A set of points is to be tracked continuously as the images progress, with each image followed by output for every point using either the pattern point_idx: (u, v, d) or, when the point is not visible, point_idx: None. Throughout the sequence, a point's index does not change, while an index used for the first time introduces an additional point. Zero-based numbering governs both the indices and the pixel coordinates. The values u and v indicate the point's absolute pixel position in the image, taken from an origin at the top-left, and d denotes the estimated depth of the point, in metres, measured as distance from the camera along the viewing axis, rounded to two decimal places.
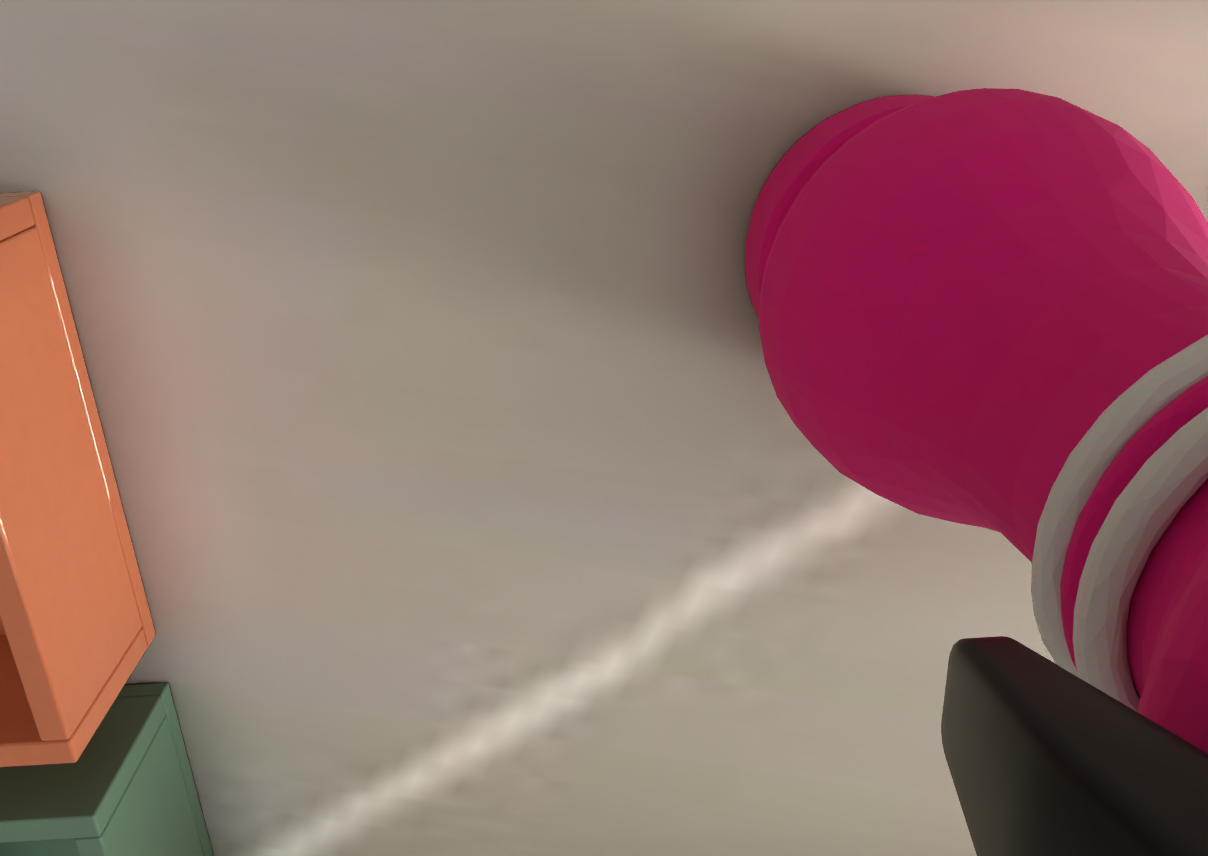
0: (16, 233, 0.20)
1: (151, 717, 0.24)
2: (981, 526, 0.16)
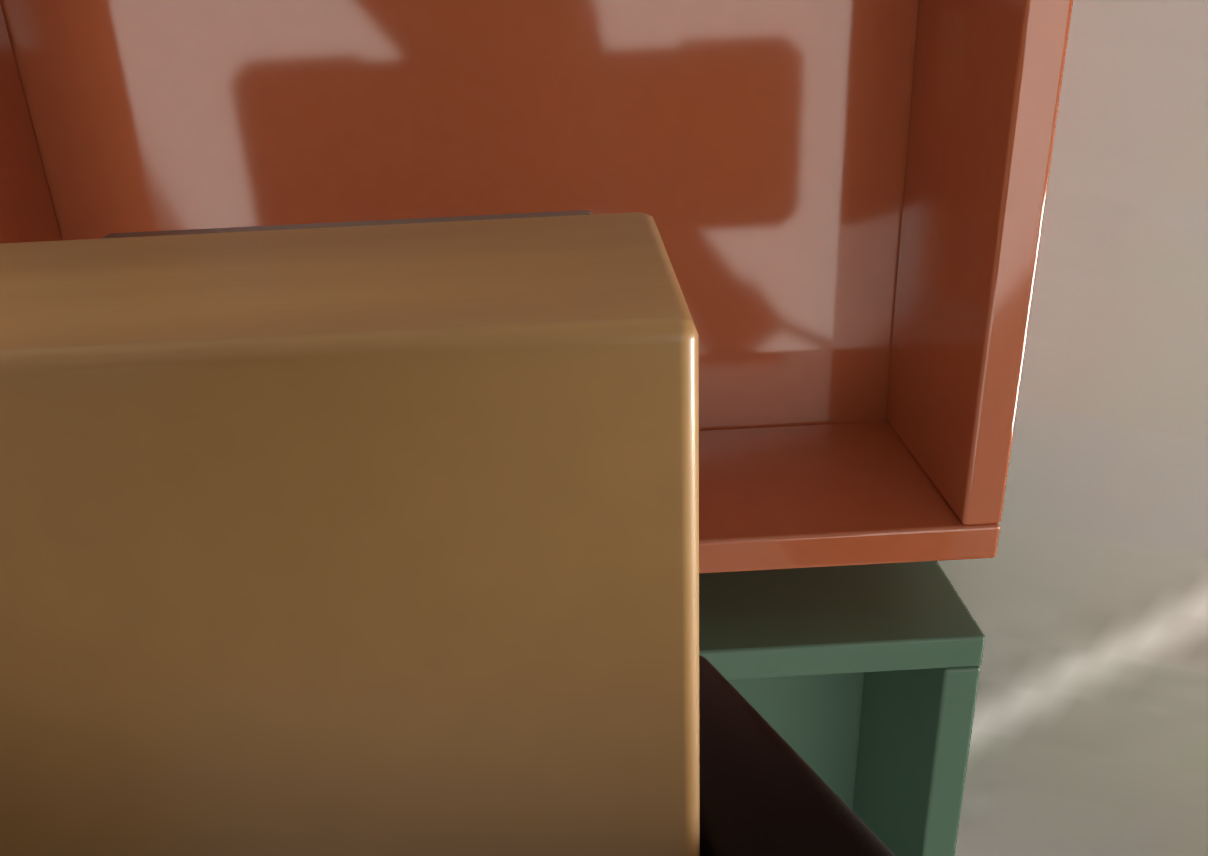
0: None
1: None
2: None
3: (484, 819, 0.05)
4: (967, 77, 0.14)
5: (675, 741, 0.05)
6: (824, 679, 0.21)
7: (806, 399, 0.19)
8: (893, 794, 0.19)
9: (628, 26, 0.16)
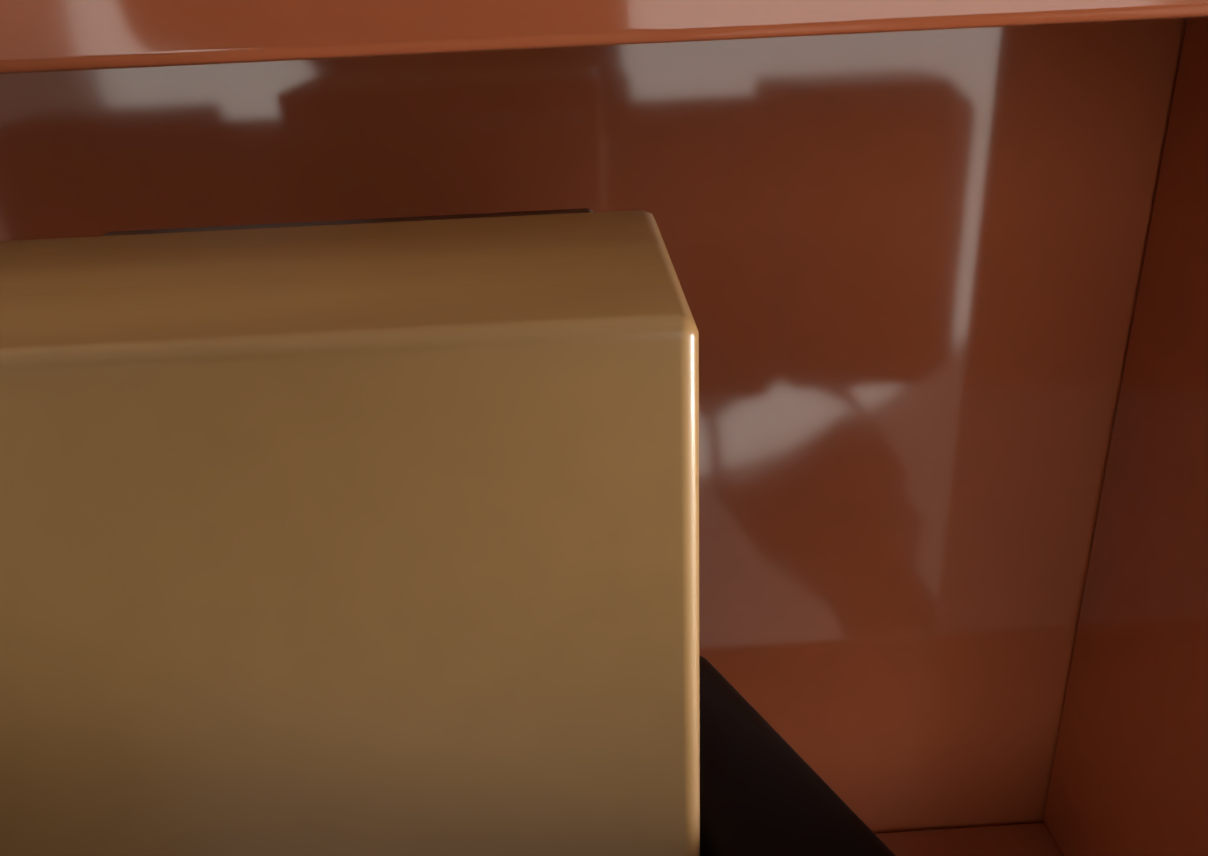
0: None
1: None
2: None
3: (486, 820, 0.05)
4: None
5: (675, 740, 0.05)
6: None
7: (927, 797, 0.13)
8: None
9: None
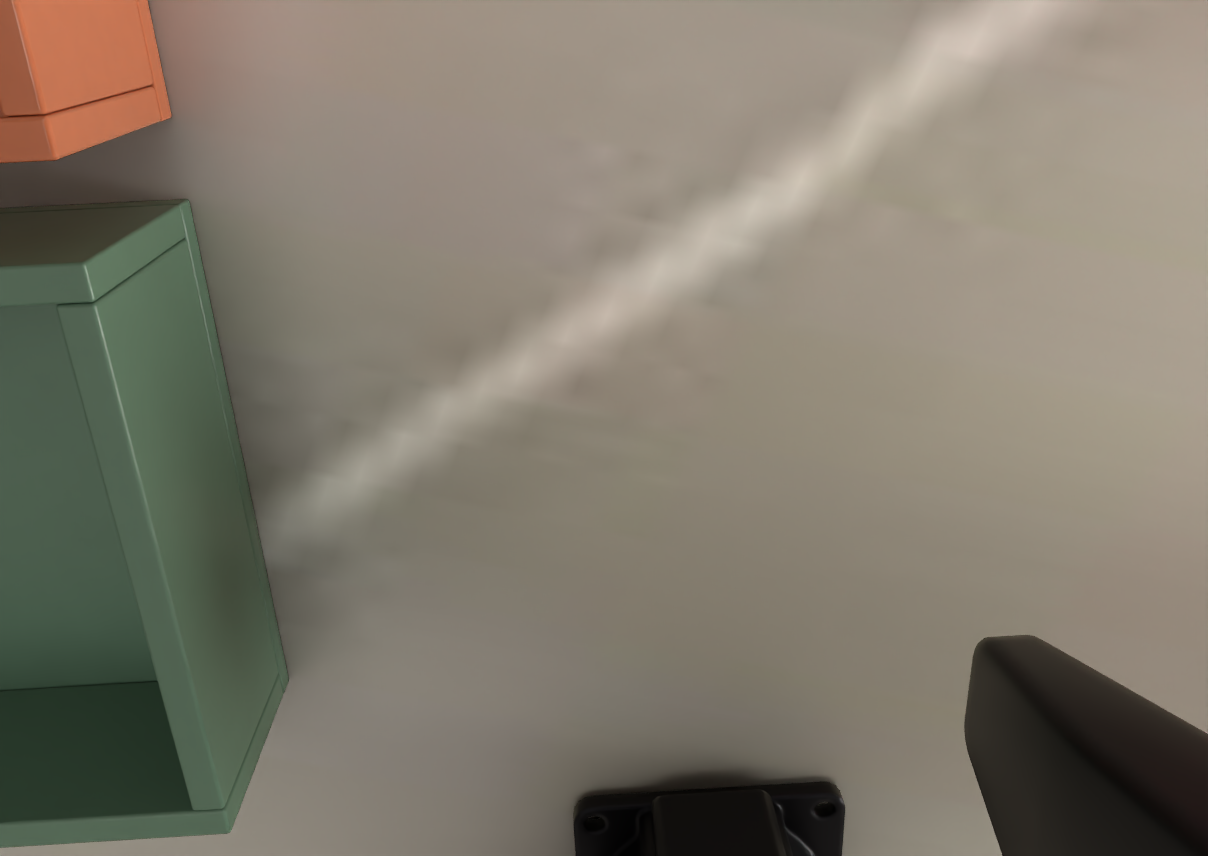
0: None
1: (166, 218, 0.17)
2: None
3: None
4: None
5: None
6: None
7: None
8: None
9: None
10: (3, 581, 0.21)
